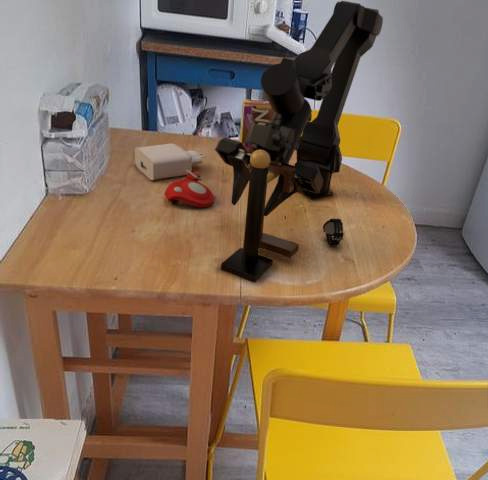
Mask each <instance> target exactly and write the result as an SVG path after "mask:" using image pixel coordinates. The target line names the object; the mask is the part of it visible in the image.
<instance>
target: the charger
mask: <svg viewBox="0 0 488 480" xmlns="http://www.w3.org/2000/svg"><path fill="white" fill-rule="evenodd" d="M203 154H204V153H203V152H197V151H196V150H194V149H191V150H185V149H184V148H182V147H180V146H179V145H177V144H175V143H164V144H156V145H149V146H148V145H147V146H140V147H135V148H134V160H135V161H134V163H135V166H136V168H137V170H139V171H140V172H141V173H142V174H143V175H145V176H146V177H147V178H148V179H149V180H151V181H155V180H156V181H157V180H162V179H167V178H175V177H180V176H187V174H188V172H187V171H186V170H189V171H192V170H193V169H192V168H193V165H195V164H201V163H203V158H204V159H205V158H207V155H206V154H205V155H203ZM192 172H193V171H192Z"/></svg>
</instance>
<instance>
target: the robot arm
mask: <svg viewBox="0 0 488 480" xmlns="http://www.w3.org/2000/svg"><path fill="white" fill-rule="evenodd" d="M379 12H380V11H379V9H376V8H371V7H365V6H364V5H362V4H361V3H359V2H352V1H347V0H340V1H337V2H336V3H335V5H334V8H333V13H332V15H331V16H330V18H329V19H328V21H327V22H326V24H325V25H324V27H323V29H322V30H321V31H320V33H319V35H318V37H317V38H316V39H315V41H314V42H313V45H312V46H311V47H310V48H309V49H307V50H305V51H302V52H300V53H298V54H297V56H296V57H294V59H293V58H287V57H282V59H281V61H280V63H279V62H278V63H276V64H273V65H271V66H270V67H268V68H266V70H265V71H263V73H262V75H261V78H260V85H261V89H262V90H263V91H262V92H263V93H264V94H265V97H266V100H267V101H268V102H269V104H270V106H271V108H272V110H273V111H275V114H274V116H273V118H272V120H271V122H270V123H269V122H267V123H266V124H265V125H264V126H262V125H258V124H255V123H250V127H249V130H248V134H247V137H246V141H245V142H246V143H250V144H252V143H253V145H252V148H253V150H255V151H256V150H264V151H266V152H267V153H268V154H269V156H270V162H272V163H276V164H280V165H283V166H287V167H291V168H295V169H296V172H295V180H294V189H293V191H291V192H290V193H288V192H285V191H283V183H284V176H285V175H281V174H279V176H278V177H277V183H276V185H275V186H274V189H273V191H272V193H271V195H270V197H269V199H268V200H267V202H266V203H265V209H264V212H263V215H264V217H268V216H269V215H270V214H271V213H273V211H274V210H276V209H277V208H278V207H279V206H280V205H282V203H283V202H285V201H286V200H288V199H289V198H290V197H292V196H293V195H295V194H297V193H299V194H302V195H303V196H305V197H307V199H310V200H318V199H322V198H327V197H331V196H334V192H333V191H332V190H330V187H331V181H332V177H333V174H334V173H340V171H341V166H342V161H343V156H342V152H341V148H340V143H341V135H340V131H339V124H340V123H339V122H340V120H341V117H342V113H343V111H344V108H345V105H346V103H347V99H348V96H349V94H350V91H351V87H352V84H353V81H354V78H355V75H356V72H357V69H358V67H359V64H360V60H361V58H362V57H363V56H364V55H365V54H366V53H367V52H368V51H370V49H371V48H373V46H374V43H375V41H376V39H377V37H378V36H379V35H380V34H381V31H382V28H383V23H384V17H383V16H382V15H381V14H380V13H379ZM308 99H309V100H312V101H316V102H318V101H319V102H320V101H321V103H320V106H319V109H318V112H317V115H316V117H315V118H313V119H312V117H313V115H312V112H313V110H312V107H311V104H310V102H309V101H308ZM214 150H215V152H216V153H217V155H218V156H219V157H220V158H221V160H222V161H223V163H225V164H226V165H228V166H230V167H232V169H233V170H232V171H233V172H232V173H233V181H232V191H231V192H232V193H231V201H230V202H231V204H232V205H233V206H236V205H237V204H238V202H240V199H241V198H242V195H243V194H244V192H245V190H246V188H247V186H248V185H249V180H250V169H248V168H249V167H250V165H251V163H250V157H251V155H252V153H251V152H247V150H246V149H245V147H244V146H243V144H242V142H240V141H238V140H235V139H231V138H228V137H223V138H221V139H219V140H218V142H217V144H216V146H215V148H214ZM295 151H296V162H295V163H294V165H293V164H290V161H291V159H292V157H293V154H294V152H295Z"/></svg>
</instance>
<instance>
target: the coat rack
mask: <svg viewBox="0 0 488 480" xmlns="http://www.w3.org/2000/svg"><path fill="white" fill-rule="evenodd" d="M250 163H251V169H249V171H250V180H249V182H248V190H247V191H248V192H247V202H246V211H245V212H246V213H245V224H244V234H243V235H244V236H243V245H242V247H239V248H238V249H237V250H236V251H234V252H233V253H232V254H231V255H230V256H228V257H227V258H226V259H225V260H224V261H223V262H221V264H220V271H223V272H226V273H228V274H230V275H233V276H236V277H239V278H241V279H244V280H247V281H249V282H252V283H256V282H257V281H258V280H259V279H260V278H261V277H262V276H263V275H264V274H265V273H266V272H267V271H268V270H269V269H270V268H271V267H272V266H273V263H274V259H273V258H270V257H268V256H265V255H262V254H260V248H259V244H260V235H261V227H262V218H263V209H264V200H265V191H266V192H267V190H266V184H267V185H268V184H269V183H271V182H272V181H273V180H275V179H276V178H279V174H277V173H273V172H270V171H268V166H269V164H270V156H269V154H268V153H267V152H266V151H264V150H256V151H254V152H253V153H252V155H251V157H250Z"/></svg>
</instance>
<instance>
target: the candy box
mask: <svg viewBox="0 0 488 480" xmlns="http://www.w3.org/2000/svg"><path fill="white" fill-rule="evenodd" d="M240 112H241V115H240V127H239V130H240V131H239V142H242V144H243V146H244V147H245V149H246V150H247V152H251V153H253V152H254V151H255V150H253V148H252V145H253V143H252V144H250V143H246V142H245V141H246V137H247V134H248V130H249V127H250V123H255V124H258V125H262V126H264V125H265V124H266V123H267V122H269V123H270V122H271V120H272V118H273V116H274V114H275V111H273V110H272V108H271V106H270V104H269V102H268V100H260V99H259V100H258V99H245V98H244V99H242V102H241V111H240ZM248 169H249V170H250V169H251V165H250V167H249V168H248Z"/></svg>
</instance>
